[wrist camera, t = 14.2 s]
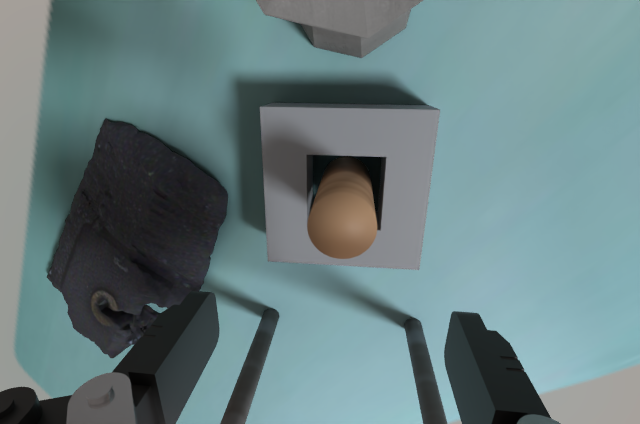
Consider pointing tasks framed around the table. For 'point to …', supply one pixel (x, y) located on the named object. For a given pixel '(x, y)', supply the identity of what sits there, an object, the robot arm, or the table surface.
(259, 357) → the small wooden table
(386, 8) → the coffeepot
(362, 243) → the peg
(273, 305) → the table surface
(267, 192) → the socket
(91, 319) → the dark slate chunk
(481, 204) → the table surface
